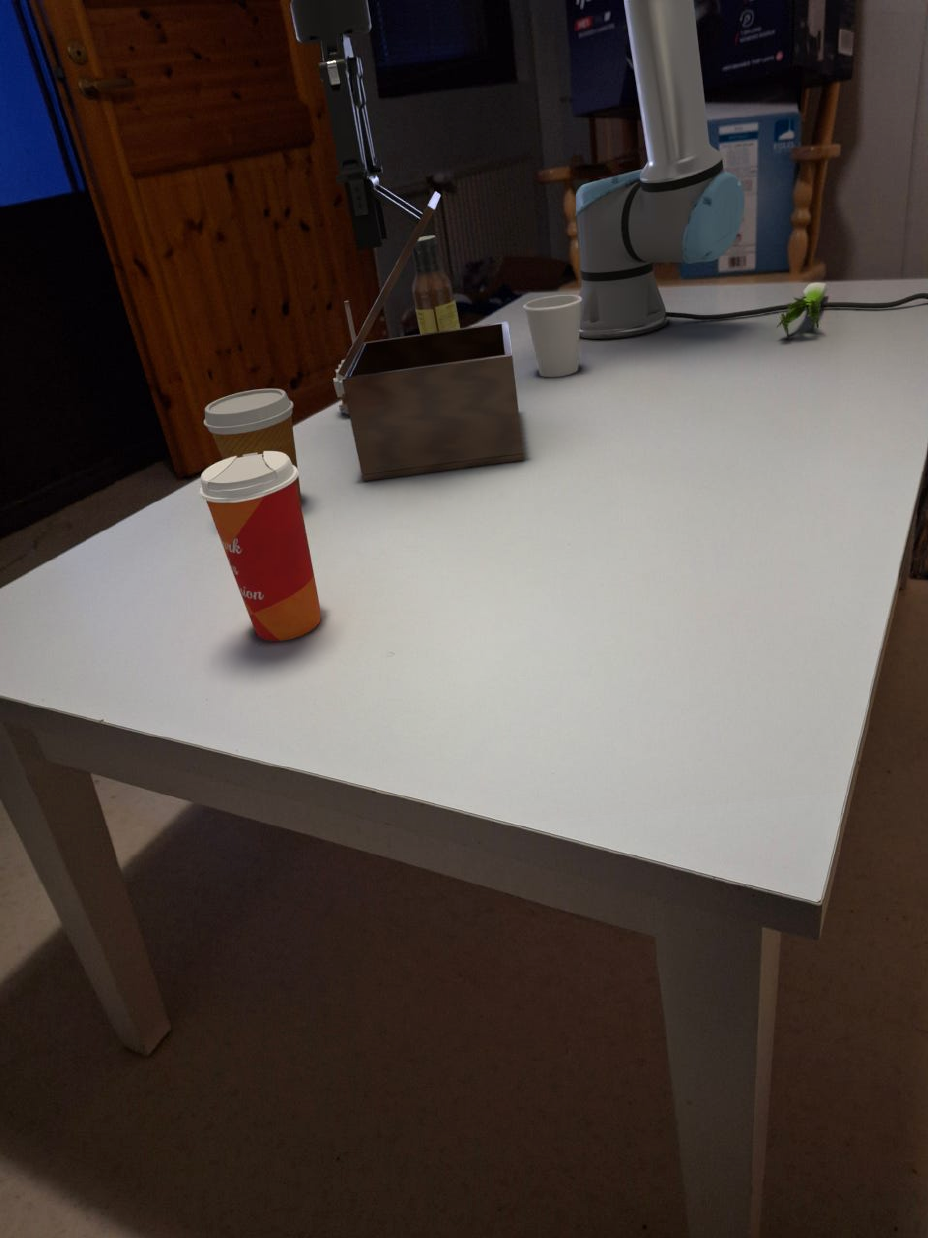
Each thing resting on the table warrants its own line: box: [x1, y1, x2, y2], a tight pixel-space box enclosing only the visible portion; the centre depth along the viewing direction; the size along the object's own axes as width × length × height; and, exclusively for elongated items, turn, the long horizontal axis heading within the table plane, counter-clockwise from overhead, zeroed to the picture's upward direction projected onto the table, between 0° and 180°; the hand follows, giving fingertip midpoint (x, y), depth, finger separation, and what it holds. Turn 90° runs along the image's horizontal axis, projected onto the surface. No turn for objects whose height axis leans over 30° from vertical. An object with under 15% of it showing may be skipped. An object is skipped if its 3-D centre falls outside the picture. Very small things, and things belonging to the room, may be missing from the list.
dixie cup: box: [522, 294, 582, 378], centre depth 129 cm, size 8×8×10 cm
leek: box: [775, 282, 829, 339], centre depth 137 cm, size 6×7×30 cm
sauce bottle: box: [411, 234, 461, 334], centre depth 136 cm, size 7×6×20 cm
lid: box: [338, 173, 442, 377], centre depth 99 cm, size 19×18×8 cm
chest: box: [342, 321, 525, 482], centre depth 107 cm, size 19×18×12 cm
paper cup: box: [198, 451, 322, 642], centre depth 72 cm, size 8×8×14 cm
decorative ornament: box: [332, 300, 357, 415], centre depth 125 cm, size 8×8×15 cm
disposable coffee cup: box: [203, 388, 302, 503], centre depth 97 cm, size 10×10×12 cm
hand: (372, 243), depth 99 cm, fingers closed on lid, 6 cm apart
